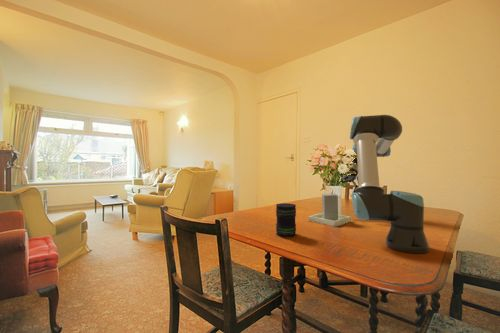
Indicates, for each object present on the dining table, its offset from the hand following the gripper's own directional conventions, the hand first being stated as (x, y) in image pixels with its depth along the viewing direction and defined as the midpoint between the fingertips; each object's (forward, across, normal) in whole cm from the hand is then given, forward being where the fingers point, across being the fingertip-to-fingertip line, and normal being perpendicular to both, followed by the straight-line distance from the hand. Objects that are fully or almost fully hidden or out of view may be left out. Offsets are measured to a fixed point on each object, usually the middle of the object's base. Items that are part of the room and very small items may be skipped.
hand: (341, 195), depth 152 cm
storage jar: (+48, +1, +25) cm, 54 cm away
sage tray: (+18, +2, -3) cm, 19 cm away
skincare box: (+18, +2, -3) cm, 18 cm away
